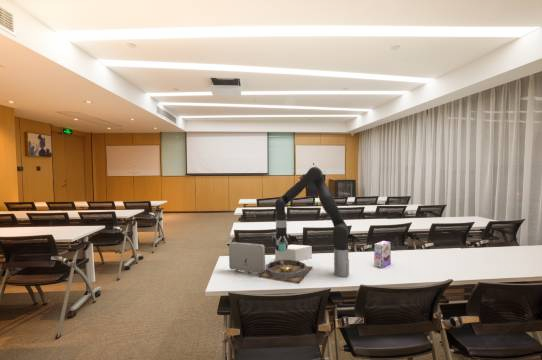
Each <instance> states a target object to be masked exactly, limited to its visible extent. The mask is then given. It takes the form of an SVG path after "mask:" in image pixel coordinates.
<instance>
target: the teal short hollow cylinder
mask: <svg viewBox="0 0 542 360" xmlns="http://www.w3.org/2000/svg"><path fill="white" fill-rule="evenodd" d="M278 251H279V252H285V251H286V243H285V242H283V241H282V242H281V241H280V242H279V243H278Z"/></svg>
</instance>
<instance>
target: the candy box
mask: <svg viewBox="0 0 542 360" xmlns="http://www.w3.org/2000/svg"><path fill="white" fill-rule="evenodd" d="M373 246H374V247H373V248H374V252H373V255H374V256H373V257H374V258H373V259H374V261H373V262H374V267H375V268H376V267H377V268H380V269H383V268H386V267H387V266H389V265H391V264H392V263H391V261H392V260H391V258H392V257H391V256H392V255H391V253H392V252H391V249H392V248H391V241H386V240H382V241H379V242H377V243H374V244H373Z"/></svg>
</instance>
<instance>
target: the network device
mask: <svg viewBox="0 0 542 360" xmlns="http://www.w3.org/2000/svg"><path fill="white" fill-rule="evenodd" d="M265 247H266V246H265V245H264V244H260V243H252V242H251V243H249V242H236V241H233V242H231V243H229V245H228V260H229V262H228V263H229V264H228V265H229V269H230V270H234V271H233V274H234V275H242V276H250V277H259V274H261V273H262V272H263V271H265V270H266V251H265V250H266V248H265ZM238 271H240V272H238ZM241 271H243V272H241ZM252 273H256V274H252Z"/></svg>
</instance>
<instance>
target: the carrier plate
mask: <svg viewBox="0 0 542 360" xmlns="http://www.w3.org/2000/svg"><path fill="white" fill-rule="evenodd" d="M280 264H281V265H276V266H274V267H271V268H270V269H271V270H272V271H276V272H279V273H283V272H280V266H283V261H280ZM284 265H287V264H284ZM289 266H293V271H292V272H290V273H293V272H298V271H300V270H303V268H301V267H300V266H295V265H290V264H289ZM306 266H307V272H306V274H305V275H303V276H300V277H297V278H286V279H283V278H277V277H272V276H270V275H268V274H267V272H266V269H265V271H263V272H262V273H261V274H259V275H258V278H263V279H269V280H275V281H280V282H286V283H293V284H299V285H300V283H302V281H303V280H304V279H305V278H306V277H307V276H308V274H309V273H310V272H311V271H312V270H313V266H310V265H306ZM285 273H288V272H285Z"/></svg>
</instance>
